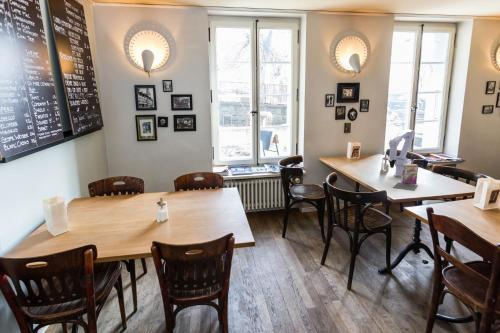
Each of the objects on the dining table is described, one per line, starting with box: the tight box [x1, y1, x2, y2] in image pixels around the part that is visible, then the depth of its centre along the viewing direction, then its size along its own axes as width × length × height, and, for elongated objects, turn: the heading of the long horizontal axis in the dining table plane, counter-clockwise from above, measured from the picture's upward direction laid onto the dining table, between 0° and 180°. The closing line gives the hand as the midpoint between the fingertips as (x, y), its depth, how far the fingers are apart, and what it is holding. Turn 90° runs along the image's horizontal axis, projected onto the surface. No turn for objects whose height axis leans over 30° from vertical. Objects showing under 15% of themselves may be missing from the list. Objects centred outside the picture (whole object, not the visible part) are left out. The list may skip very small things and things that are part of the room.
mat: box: [392, 182, 419, 192], centre depth 267 cm, size 16×16×1 cm
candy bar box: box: [400, 163, 419, 184], centre depth 275 cm, size 11×5×16 cm, turn 83°
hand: (391, 167), depth 289 cm, fingers closed
